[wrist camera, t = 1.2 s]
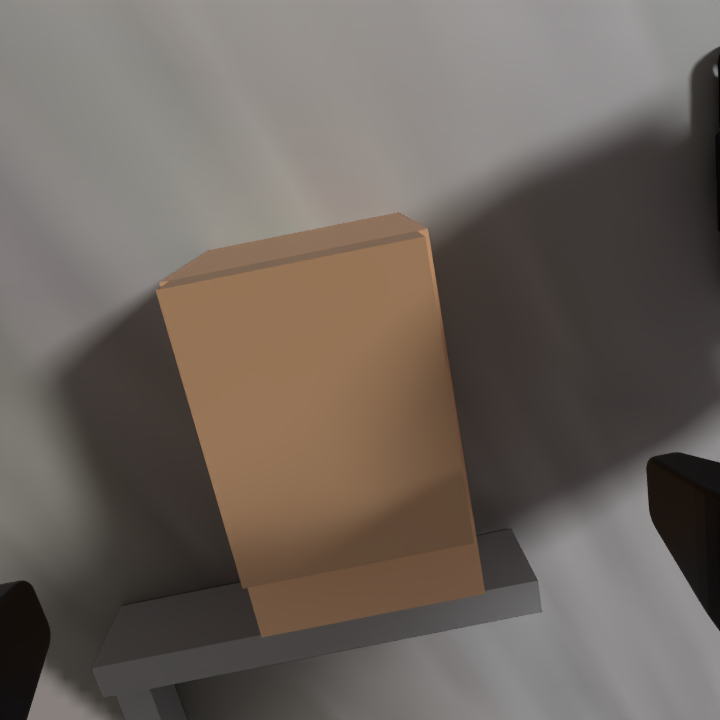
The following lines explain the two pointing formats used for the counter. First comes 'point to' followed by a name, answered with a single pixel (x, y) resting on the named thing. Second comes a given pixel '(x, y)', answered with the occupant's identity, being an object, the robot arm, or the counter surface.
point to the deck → (249, 650)
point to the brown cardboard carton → (328, 420)
